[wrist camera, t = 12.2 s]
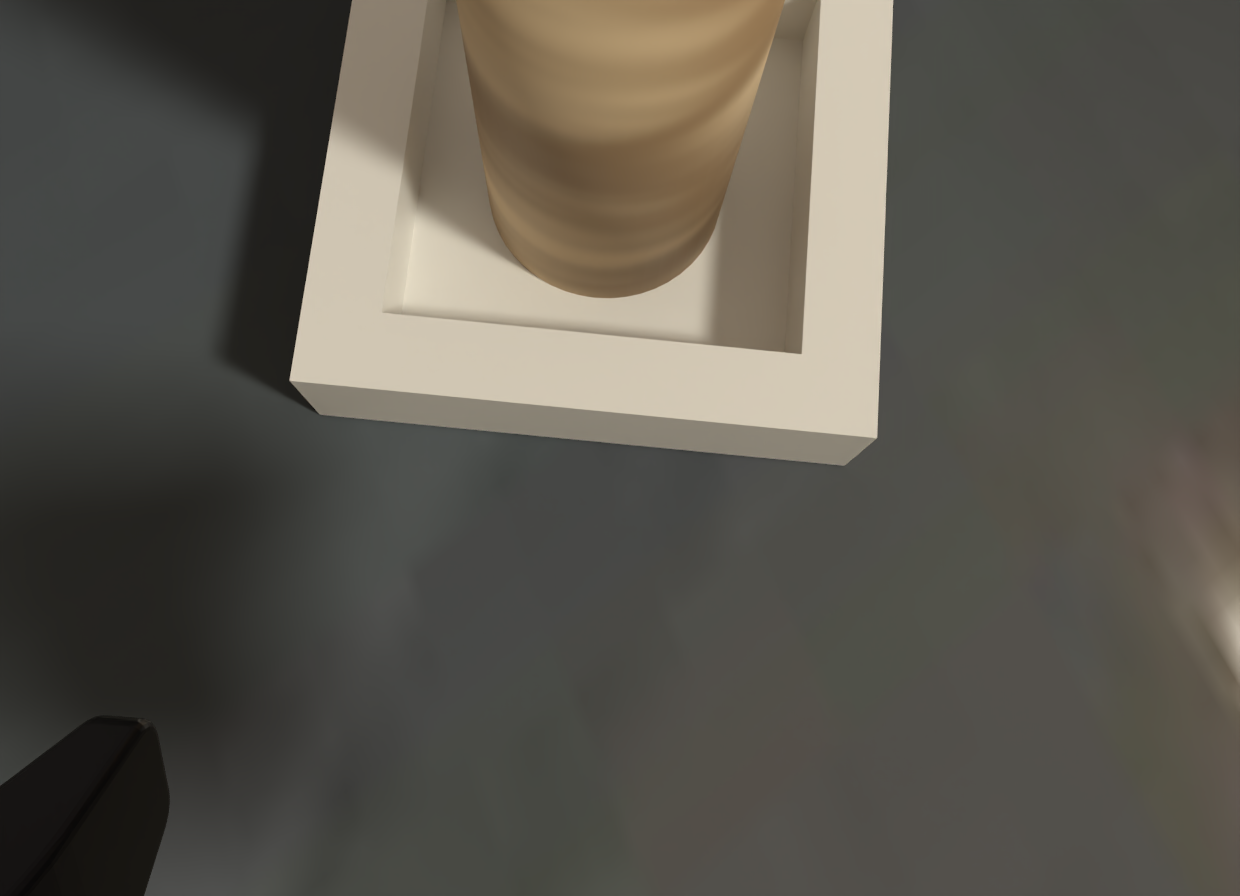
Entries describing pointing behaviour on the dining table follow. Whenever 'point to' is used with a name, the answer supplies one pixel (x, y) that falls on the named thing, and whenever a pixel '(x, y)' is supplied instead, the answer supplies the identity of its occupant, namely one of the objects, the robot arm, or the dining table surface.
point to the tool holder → (605, 327)
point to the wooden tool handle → (612, 129)
